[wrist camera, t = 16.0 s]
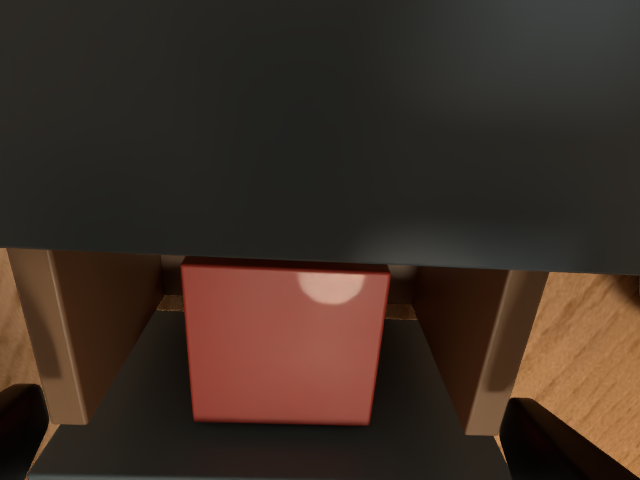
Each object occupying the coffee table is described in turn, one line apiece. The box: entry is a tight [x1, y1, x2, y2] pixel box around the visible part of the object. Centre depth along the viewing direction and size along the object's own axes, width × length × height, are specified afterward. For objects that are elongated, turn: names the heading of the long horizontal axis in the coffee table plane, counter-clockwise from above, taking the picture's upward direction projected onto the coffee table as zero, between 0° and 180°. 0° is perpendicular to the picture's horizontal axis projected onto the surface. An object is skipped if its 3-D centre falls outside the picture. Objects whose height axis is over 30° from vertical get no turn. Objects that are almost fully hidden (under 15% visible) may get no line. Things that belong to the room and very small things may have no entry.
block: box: [180, 256, 391, 426], centre depth 12 cm, size 4×4×4 cm
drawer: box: [7, 248, 549, 480], centre depth 12 cm, size 18×11×7 cm, turn 176°
